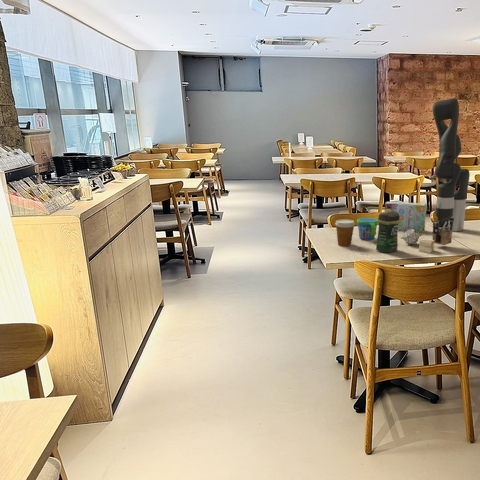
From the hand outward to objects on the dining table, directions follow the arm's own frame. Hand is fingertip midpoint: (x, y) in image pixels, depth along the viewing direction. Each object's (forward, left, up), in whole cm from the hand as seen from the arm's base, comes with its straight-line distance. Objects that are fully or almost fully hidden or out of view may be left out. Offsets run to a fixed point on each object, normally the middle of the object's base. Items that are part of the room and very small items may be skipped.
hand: (441, 240), depth 206 cm
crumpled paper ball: (+6, -12, -3) cm, 14 cm away
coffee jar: (+23, -13, -3) cm, 27 cm away
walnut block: (0, 0, -1) cm, 1 cm away
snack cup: (+13, -33, -3) cm, 36 cm away
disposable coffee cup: (+30, -33, -3) cm, 45 cm away
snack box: (-17, -32, -3) cm, 36 cm away
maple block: (+10, -1, -3) cm, 11 cm away
